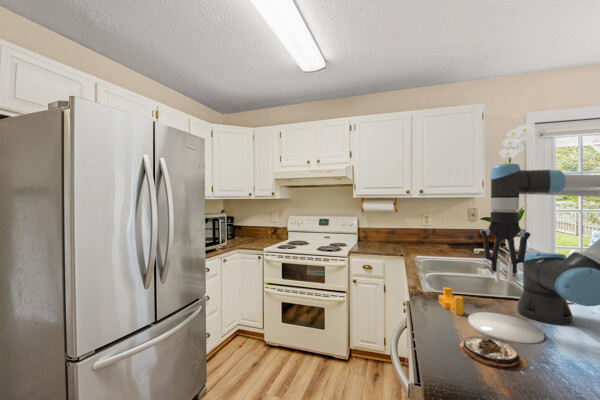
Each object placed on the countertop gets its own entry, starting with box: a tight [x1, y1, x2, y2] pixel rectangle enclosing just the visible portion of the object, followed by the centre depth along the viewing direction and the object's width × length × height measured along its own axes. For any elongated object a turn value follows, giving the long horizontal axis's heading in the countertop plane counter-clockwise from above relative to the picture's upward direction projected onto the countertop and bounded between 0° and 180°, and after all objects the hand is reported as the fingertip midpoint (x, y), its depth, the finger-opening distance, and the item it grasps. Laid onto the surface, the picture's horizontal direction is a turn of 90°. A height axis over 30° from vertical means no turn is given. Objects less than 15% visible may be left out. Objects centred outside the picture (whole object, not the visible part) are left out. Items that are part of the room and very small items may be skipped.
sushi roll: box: [458, 335, 527, 371], centre depth 74 cm, size 15×15×4 cm
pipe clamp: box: [438, 286, 464, 316], centre depth 107 cm, size 12×4×6 cm, turn 172°
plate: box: [467, 311, 545, 344], centre depth 90 cm, size 20×20×1 cm
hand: (503, 282), depth 90 cm, fingers open, 3 cm apart
